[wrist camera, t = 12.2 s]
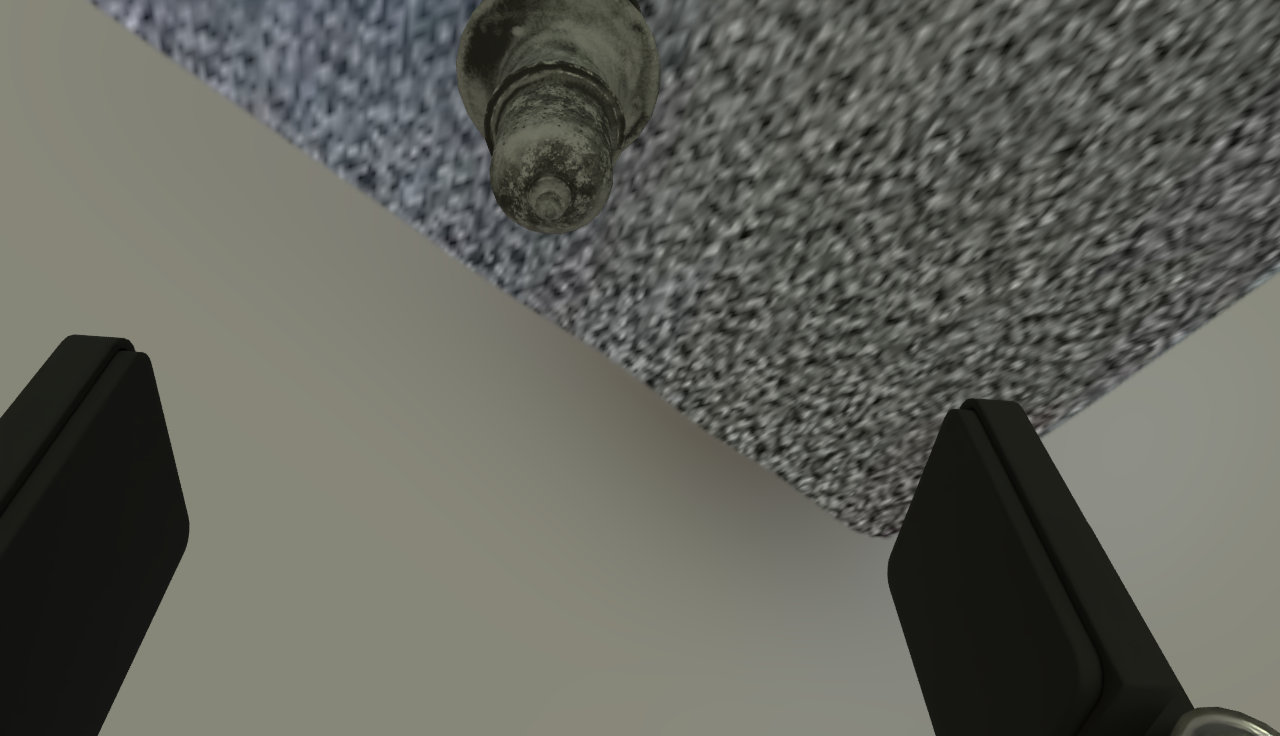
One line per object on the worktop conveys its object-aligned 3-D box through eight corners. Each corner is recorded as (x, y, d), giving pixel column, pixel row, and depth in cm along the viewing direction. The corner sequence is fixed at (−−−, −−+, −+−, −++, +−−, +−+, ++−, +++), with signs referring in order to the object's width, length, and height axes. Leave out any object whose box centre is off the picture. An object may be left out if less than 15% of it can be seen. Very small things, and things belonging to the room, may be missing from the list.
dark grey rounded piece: (661, 115, 32) (693, 312, 22) (489, 135, 32) (445, 340, 22) (644, -73, 28) (672, 65, 19) (450, -49, 28) (378, 100, 19)
